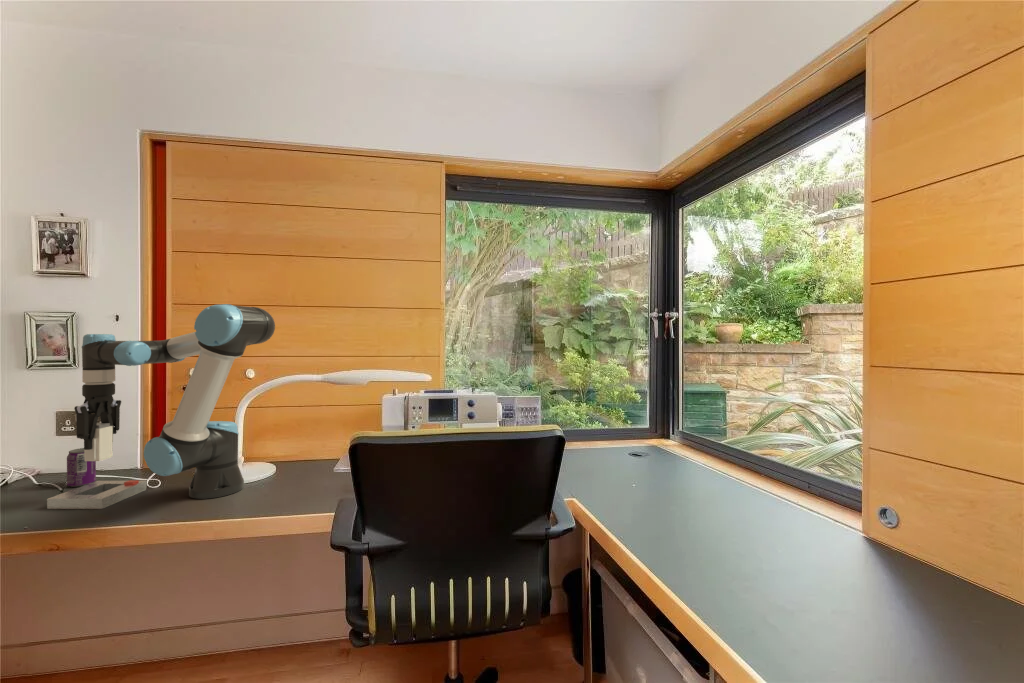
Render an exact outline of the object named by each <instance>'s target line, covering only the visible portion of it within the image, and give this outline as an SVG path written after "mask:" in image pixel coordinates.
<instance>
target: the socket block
mask: <svg viewBox="0 0 1024 683" xmlns="http://www.w3.org/2000/svg"><path fill="white" fill-rule="evenodd" d="M144 491H147V480H137V479H136V480H134V479H133V480H132V479H131V480H96V481H94V482H93V483H90V484H87V485H84V486H81V487H75V488H73V489H71V490H68V491H65V492H62V493H60V494H56V495H54V496H51V497H49V498H46V509H47V510H64V509H65V510H69V509H71V510H72V509H74V510H80V509H82V510H85V509H86V510H88V509H89V510H96V509H98V510H103V509H105V508H107V507H111V506H112V505H115V504H116V503H119V502H122V501H124V500H126V499H128V498H131V497H133V496H135V495H138V494H140V493H142V492H144Z"/></svg>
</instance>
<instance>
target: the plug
mask: <svg viewBox="0 0 1024 683" xmlns="http://www.w3.org/2000/svg"><path fill="white" fill-rule="evenodd" d="M94 438H97V459H96V460H85V461H96V462H102V461H105V460H109V459H110V458H111V459H112V458H113V456H114V454H113V451H114V450H113V444H114V443H113V442H114V434H113V426H110V423H101V422H97V425H96V430H95V435H94Z"/></svg>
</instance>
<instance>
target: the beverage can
mask: <svg viewBox="0 0 1024 683" xmlns="http://www.w3.org/2000/svg"><path fill="white" fill-rule="evenodd" d="M95 481H97V461H85V449H84V447H81V448H76V449H70V450H69V451H68V455H67V456H66V486H68V487H71V488H79V487H81V486H84V485H87V484H90V483H93V482H95Z"/></svg>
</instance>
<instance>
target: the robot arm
mask: <svg viewBox="0 0 1024 683" xmlns="http://www.w3.org/2000/svg"><path fill="white" fill-rule="evenodd" d="M275 322H276V321H275V320H274V318H273V316H272V314H270V312H268V311H267V310H265V309H264V308H260V307H258V306H257V307H256V306H247V305H246V306H244V305H232V304H229V303H228V304H227V303H224V304H214V305H213V304H212V305H210V306H208V307H205V308H204V309H203V310H201V311H200V312H199V313H198V315H197V317H196V319H195V321H194V325H193V329H194V330H195V331H193V332H190V333H186V334H181V335H179V336H175V337H171V338H167V339H163V340H117V339H116V336H115V335H114V334H112V333H111V334H107V333H106V334H105V333H103V334H102V333H86V334H85V335H83V337H82V343H81V344H82V345H81V361H82V364H81V368H82V372H81V373H82V377H81V378H82V383H83V385H81V386H82V388H81V389H82V390H81V393H82V394H81V395H82V397H83V398H84V401H83V403H82V404H81V405H76V406H74V409H73V410H74V412H75V414H76V417H75V418H76V421H75V422H76V438H77V439H80V440H83V448H84V449H85V460H96V459H97V438H94V435H95V430H96V425H97V423H98V420H100V423H110V426H113V435H116V434H117V433H118V431H119V430H120V414H121V412H120V410H121V408H120V407H121V404H122V400H121V399H118V400H117V399H114V395H115V394H116V383H115V382H116V366H127V367H132V366H133V367H135V366H141V365H148V364H152V365H153V364H163V363H169V364H170V363H171V364H172V363H178V362H182V361H184V360H185V359H186V358H189V357H195V356H198V358H197V360H196V363H195V365H194V367H193V370H192V372H191V375H190V377H189V379H188V382H187V384H186V387H185V389H184V392H183V395H182V397H181V400H180V402H179V404H178V406H177V410H176V411H175V413H174V417H173V419H172V420H171V421H168V422H166V423H165V424H164V425H163V428H162V430H161V432H160V435H159V436H156V437H153V438H151V439H149V440H148V441H147V442H146V444H145V446H144V447H143V448H144V449H143V458H144V461H145V463H146V466H147V467H148V468H149V470H150V471H151V472H152V473H153V474H155V475H158V476H160V477H168V476H172V475H177V474H180V473H183V472H186V471H188V470H191V469H194V468H195V471H194V474H193V476H192V480H191V482H190V485H189V489H188V497H189V498H191V499H199V500H200V499H202V500H204V499H205V500H206V499H215V498H221V497H225V496H229V495H232V494H235V493H238V492H240V491H241V490H243V489H244V487H245V480H244V477H243V474H242V472H241V470H240V467H239V459H238V458H239V432H238V424H237V423H236V422H235V421H230V420H229V421H227V420H225V421H224V420H218V421H217V420H211V416H212V415H213V412H214V410H215V408H216V404H217V403H218V400H219V397H220V395H221V393H222V390H223V388H224V385H226V384H225V383H226V381H227V378H228V377H229V374H230V371H231V369H232V366H233V364H234V362H235V359H238V358H240V357H243V355H244V353H245V351H246V348H247V346H252V345H259V344H263V343H265V342H267V341H269V340H270V339H271V338H272V337H273V335H274V333H275V330H276V323H275ZM99 418H100V419H99Z"/></svg>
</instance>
